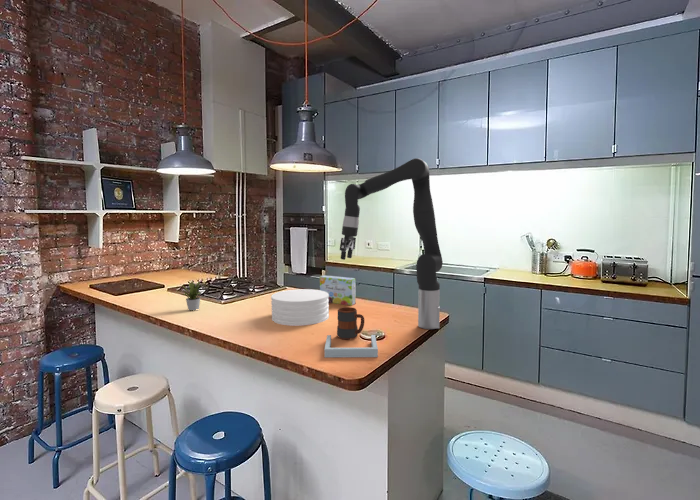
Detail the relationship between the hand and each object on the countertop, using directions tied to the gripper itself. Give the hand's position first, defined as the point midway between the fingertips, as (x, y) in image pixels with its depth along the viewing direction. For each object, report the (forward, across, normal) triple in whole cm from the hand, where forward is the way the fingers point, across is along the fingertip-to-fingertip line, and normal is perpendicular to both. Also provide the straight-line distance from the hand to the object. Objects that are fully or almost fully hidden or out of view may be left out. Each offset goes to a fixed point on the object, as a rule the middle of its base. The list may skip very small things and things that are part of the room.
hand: (346, 258), depth 184 cm
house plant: (+40, -14, +76) cm, 87 cm away
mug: (+28, -28, -17) cm, 43 cm away
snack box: (+30, +26, +11) cm, 42 cm away
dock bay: (+27, -40, -22) cm, 53 cm away
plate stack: (+32, -8, +17) cm, 37 cm away
